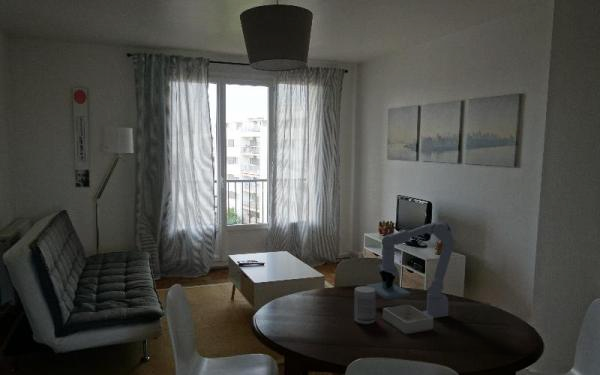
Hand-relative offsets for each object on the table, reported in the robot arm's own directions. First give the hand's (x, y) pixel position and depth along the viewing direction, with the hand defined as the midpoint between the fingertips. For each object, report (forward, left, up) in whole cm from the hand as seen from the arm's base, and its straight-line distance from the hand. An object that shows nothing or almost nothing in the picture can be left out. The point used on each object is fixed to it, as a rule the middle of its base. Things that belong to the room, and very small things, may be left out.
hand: (387, 286), depth 221 cm
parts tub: (+3, +21, -10) cm, 24 cm away
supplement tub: (+19, +11, -11) cm, 24 cm away
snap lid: (0, 0, -2) cm, 2 cm away
